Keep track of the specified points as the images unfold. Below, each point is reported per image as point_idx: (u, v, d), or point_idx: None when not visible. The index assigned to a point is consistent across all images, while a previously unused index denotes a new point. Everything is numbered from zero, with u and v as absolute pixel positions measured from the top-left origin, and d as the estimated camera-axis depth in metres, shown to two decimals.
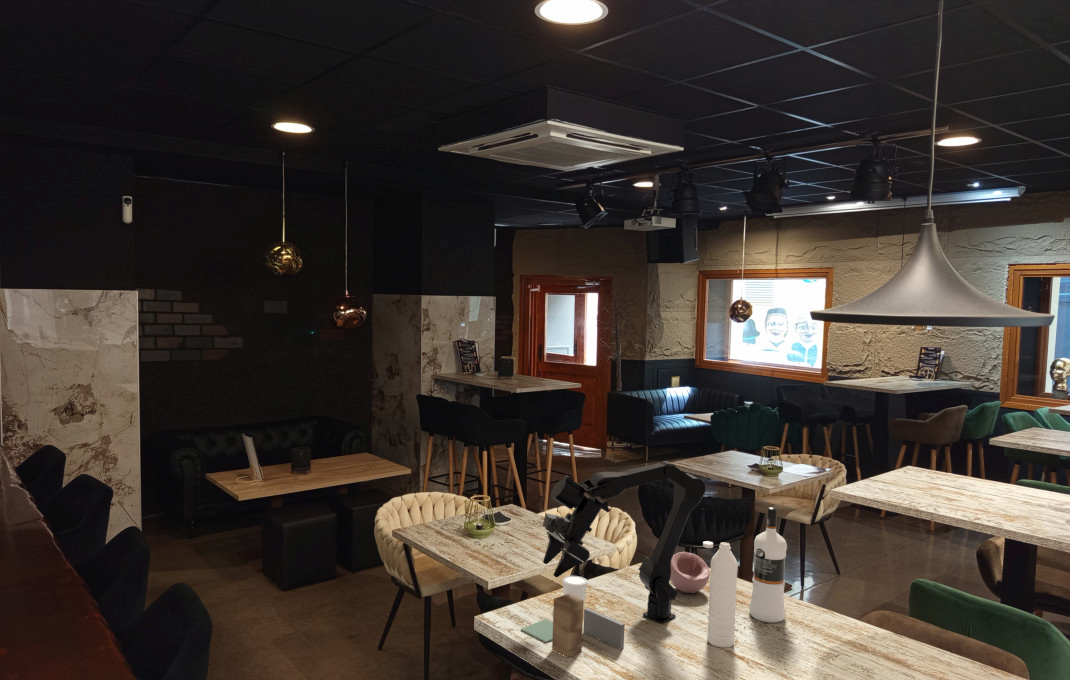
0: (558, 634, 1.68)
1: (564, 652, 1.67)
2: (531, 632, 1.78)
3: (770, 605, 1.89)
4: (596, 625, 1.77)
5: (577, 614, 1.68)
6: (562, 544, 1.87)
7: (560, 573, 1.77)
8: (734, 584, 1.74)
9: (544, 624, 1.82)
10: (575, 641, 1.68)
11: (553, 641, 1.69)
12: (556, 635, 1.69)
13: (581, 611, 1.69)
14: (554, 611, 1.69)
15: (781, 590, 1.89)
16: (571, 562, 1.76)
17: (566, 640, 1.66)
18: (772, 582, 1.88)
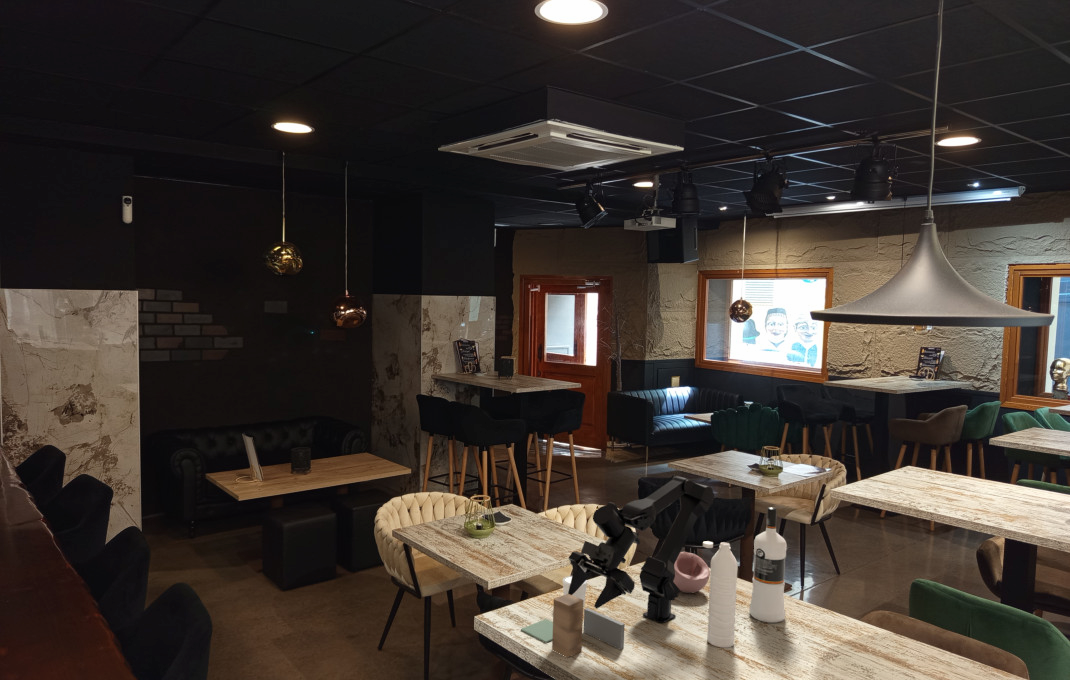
0: (558, 634, 1.68)
1: (564, 652, 1.67)
2: (531, 632, 1.78)
3: (770, 605, 1.89)
4: (596, 625, 1.77)
5: (577, 614, 1.68)
6: (585, 575, 1.79)
7: (601, 604, 1.69)
8: (734, 584, 1.74)
9: (544, 624, 1.82)
10: (575, 641, 1.68)
11: (553, 641, 1.69)
12: (556, 635, 1.69)
13: (581, 611, 1.69)
14: (554, 611, 1.69)
15: (781, 590, 1.89)
16: (613, 593, 1.70)
17: (566, 640, 1.66)
18: (772, 582, 1.88)
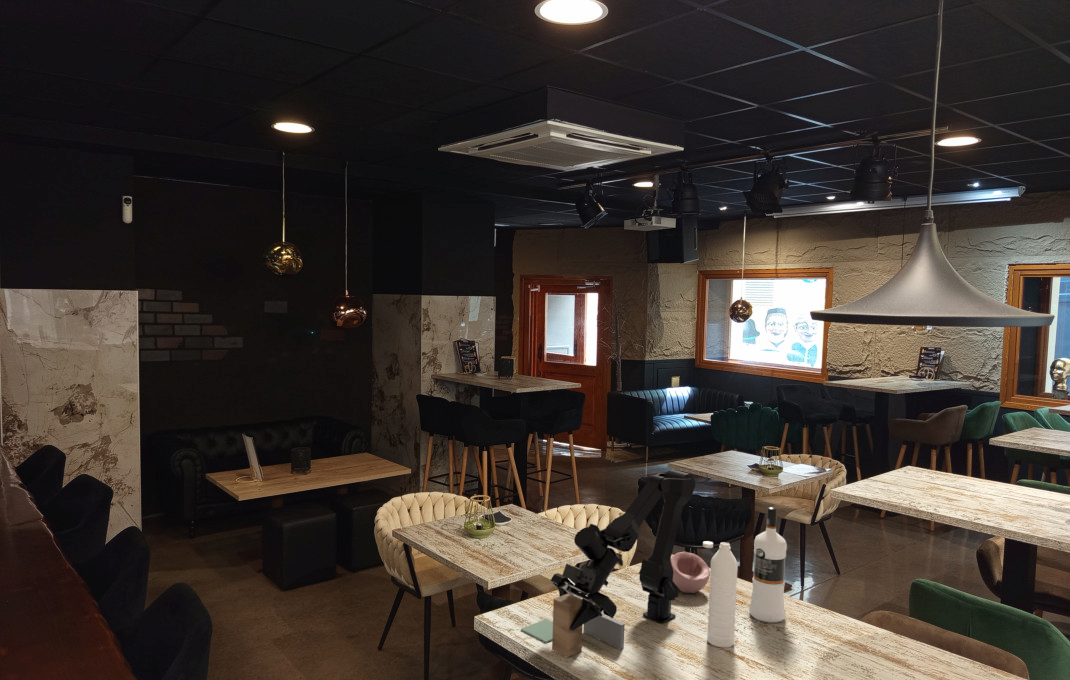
0: (558, 634, 1.68)
1: (564, 652, 1.67)
2: (531, 632, 1.78)
3: (770, 605, 1.89)
4: (596, 625, 1.77)
5: None
6: None
7: (577, 626, 1.67)
8: (734, 584, 1.74)
9: (544, 624, 1.82)
10: (575, 641, 1.68)
11: (553, 641, 1.69)
12: (556, 635, 1.69)
13: None
14: (554, 611, 1.69)
15: (781, 590, 1.89)
16: (589, 614, 1.68)
17: (565, 640, 1.66)
18: (772, 582, 1.88)
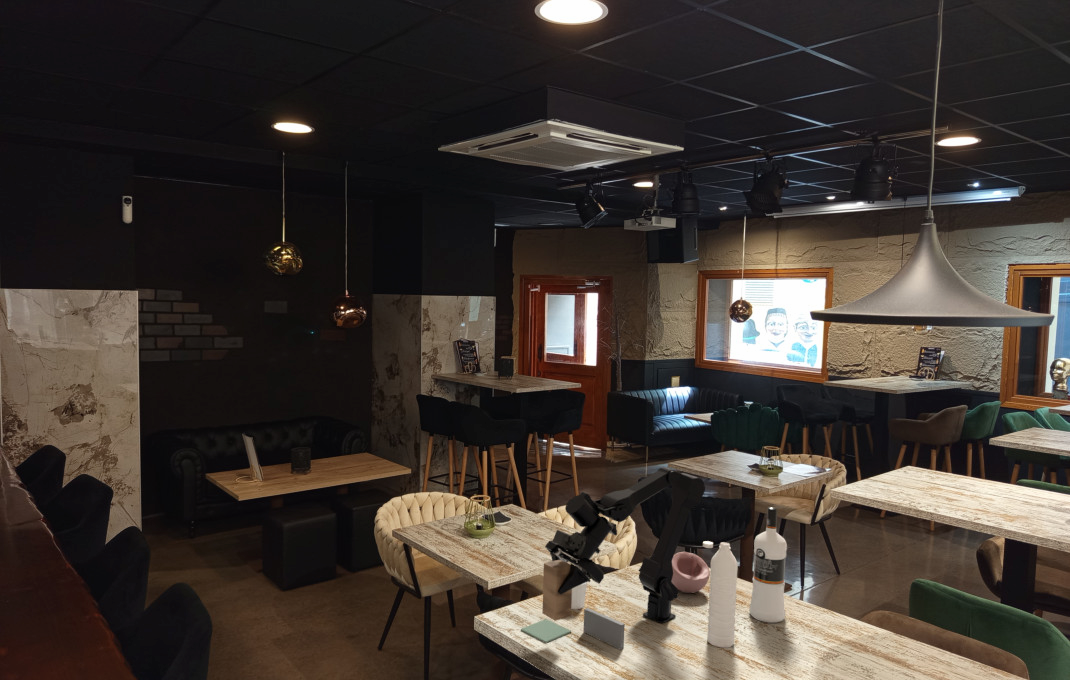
0: (548, 597, 1.72)
1: (552, 615, 1.71)
2: (531, 632, 1.78)
3: (770, 605, 1.89)
4: (596, 625, 1.77)
5: None
6: None
7: (565, 590, 1.70)
8: (734, 584, 1.74)
9: (544, 624, 1.82)
10: (563, 605, 1.71)
11: (543, 604, 1.74)
12: (545, 598, 1.73)
13: None
14: (544, 575, 1.73)
15: (781, 590, 1.89)
16: (578, 580, 1.71)
17: (553, 603, 1.70)
18: (772, 582, 1.88)
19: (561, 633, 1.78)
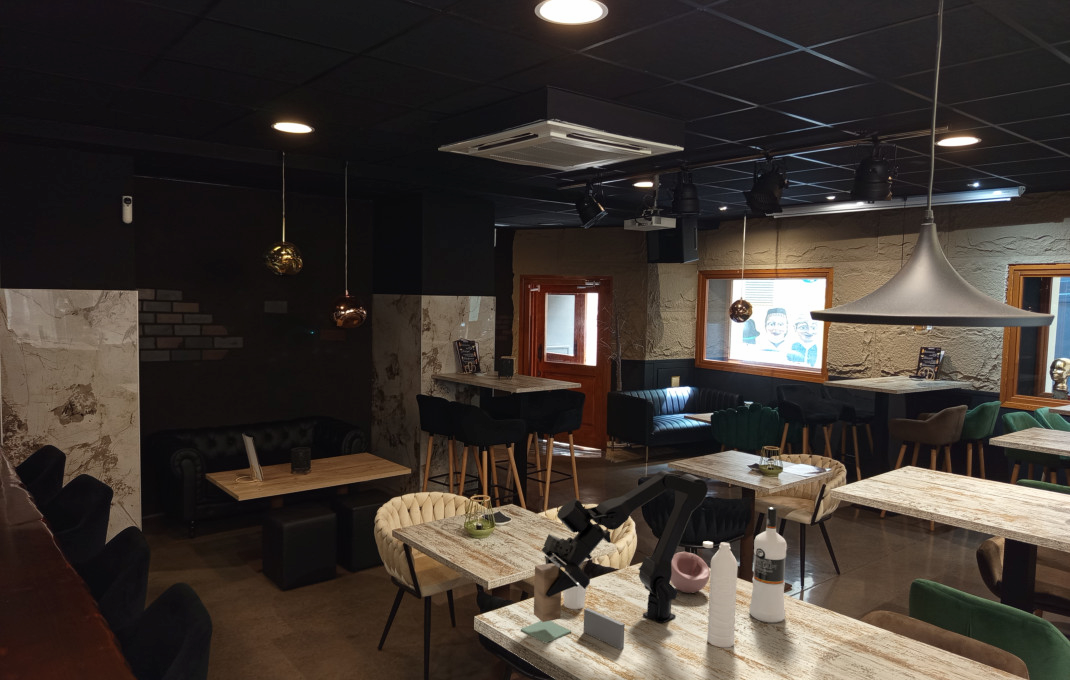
0: (537, 599, 1.78)
1: (541, 616, 1.77)
2: (531, 632, 1.78)
3: (770, 605, 1.89)
4: (596, 625, 1.77)
5: None
6: None
7: (553, 593, 1.76)
8: (734, 584, 1.74)
9: (544, 624, 1.82)
10: (552, 607, 1.77)
11: (534, 605, 1.80)
12: (536, 600, 1.79)
13: None
14: (535, 577, 1.80)
15: (781, 590, 1.89)
16: (566, 584, 1.76)
17: (542, 605, 1.76)
18: (772, 582, 1.88)
19: (561, 633, 1.78)
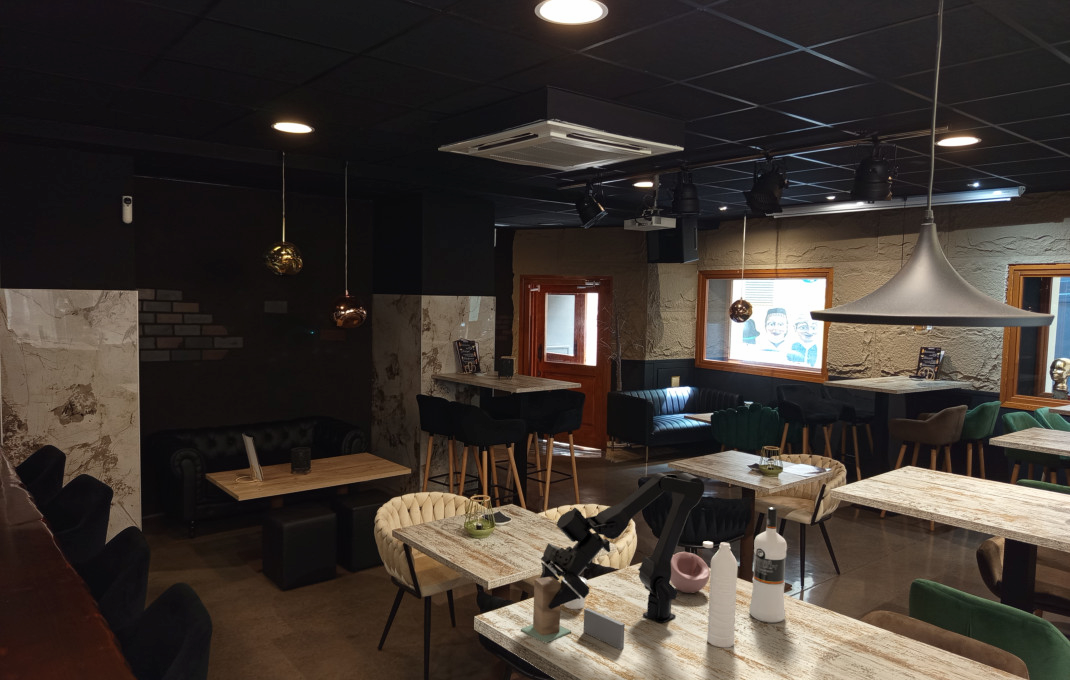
0: (537, 612, 1.79)
1: (539, 629, 1.77)
2: (531, 632, 1.78)
3: (770, 606, 1.89)
4: (596, 625, 1.77)
5: (553, 596, 1.77)
6: (555, 577, 1.85)
7: (555, 605, 1.74)
8: (734, 584, 1.74)
9: None
10: (551, 621, 1.77)
11: (533, 618, 1.80)
12: (535, 613, 1.79)
13: None
14: (534, 590, 1.80)
15: (781, 590, 1.89)
16: (568, 596, 1.75)
17: (540, 618, 1.77)
18: (772, 582, 1.88)
19: (561, 633, 1.78)
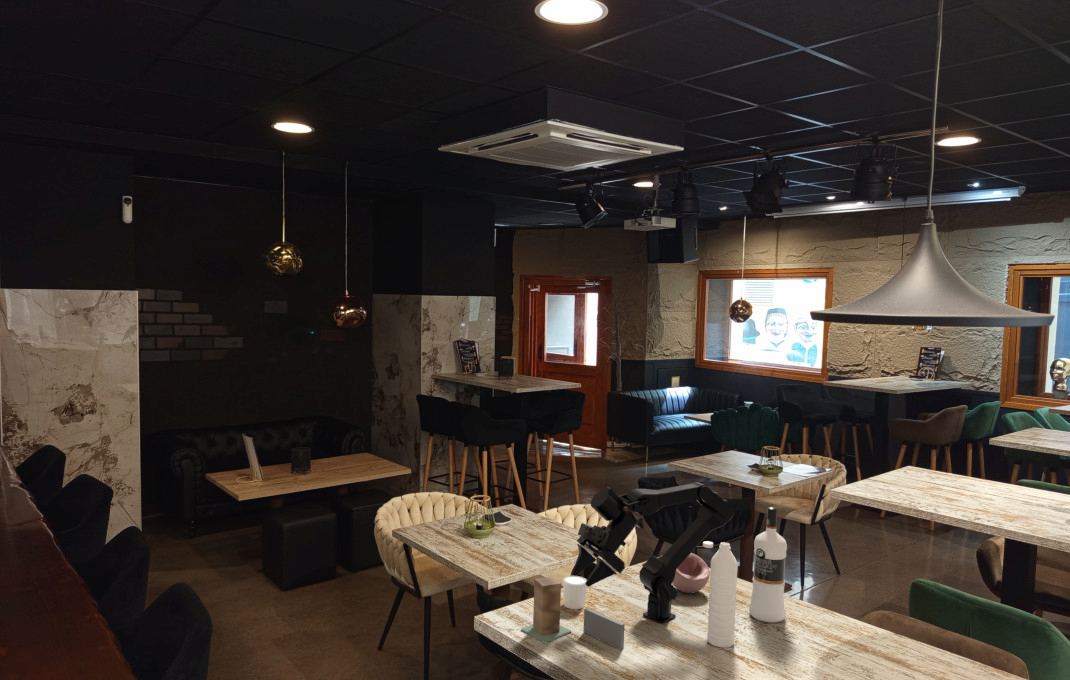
0: (537, 612, 1.79)
1: (539, 629, 1.77)
2: (531, 632, 1.78)
3: (770, 605, 1.89)
4: (596, 625, 1.77)
5: (553, 596, 1.77)
6: (592, 558, 1.87)
7: (592, 582, 1.76)
8: (734, 584, 1.74)
9: None
10: (551, 621, 1.77)
11: (533, 618, 1.80)
12: (535, 613, 1.79)
13: (558, 593, 1.78)
14: (534, 590, 1.80)
15: (781, 590, 1.89)
16: (604, 572, 1.76)
17: (540, 618, 1.77)
18: (772, 582, 1.88)
19: (561, 633, 1.78)
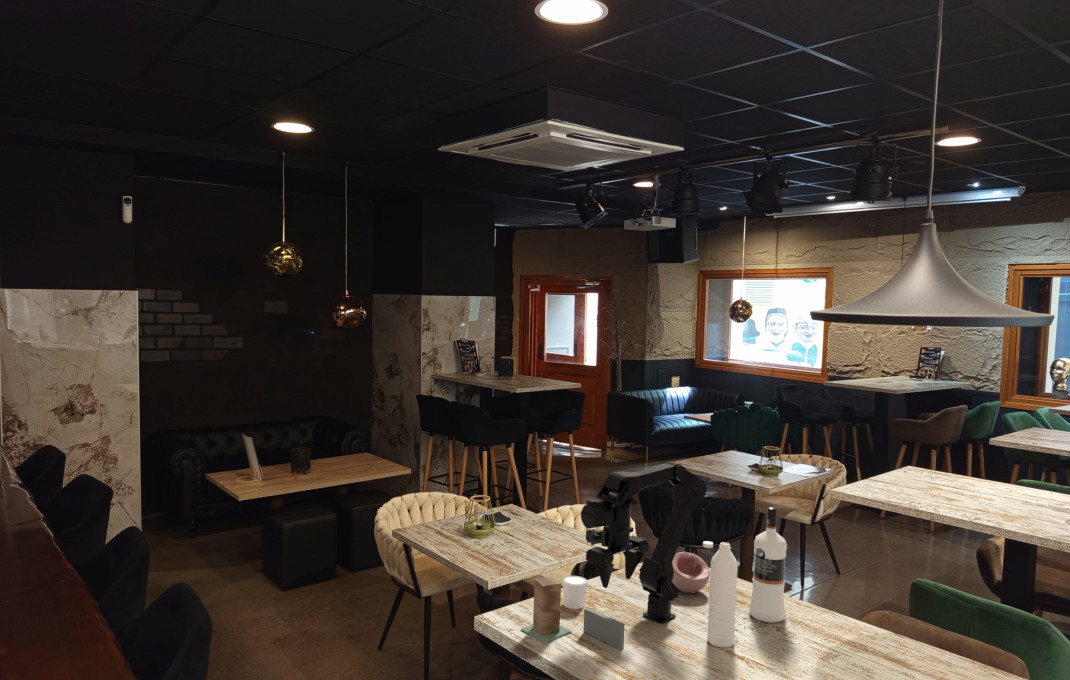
0: (537, 612, 1.79)
1: (539, 629, 1.77)
2: (531, 632, 1.78)
3: (770, 605, 1.89)
4: (596, 625, 1.77)
5: (553, 596, 1.77)
6: (635, 555, 1.84)
7: (605, 583, 1.77)
8: (734, 584, 1.74)
9: None
10: (551, 621, 1.77)
11: (533, 618, 1.80)
12: (535, 613, 1.79)
13: (558, 593, 1.78)
14: (534, 590, 1.80)
15: (781, 590, 1.89)
16: (605, 569, 1.76)
17: (540, 618, 1.77)
18: (772, 582, 1.88)
19: (561, 633, 1.78)
